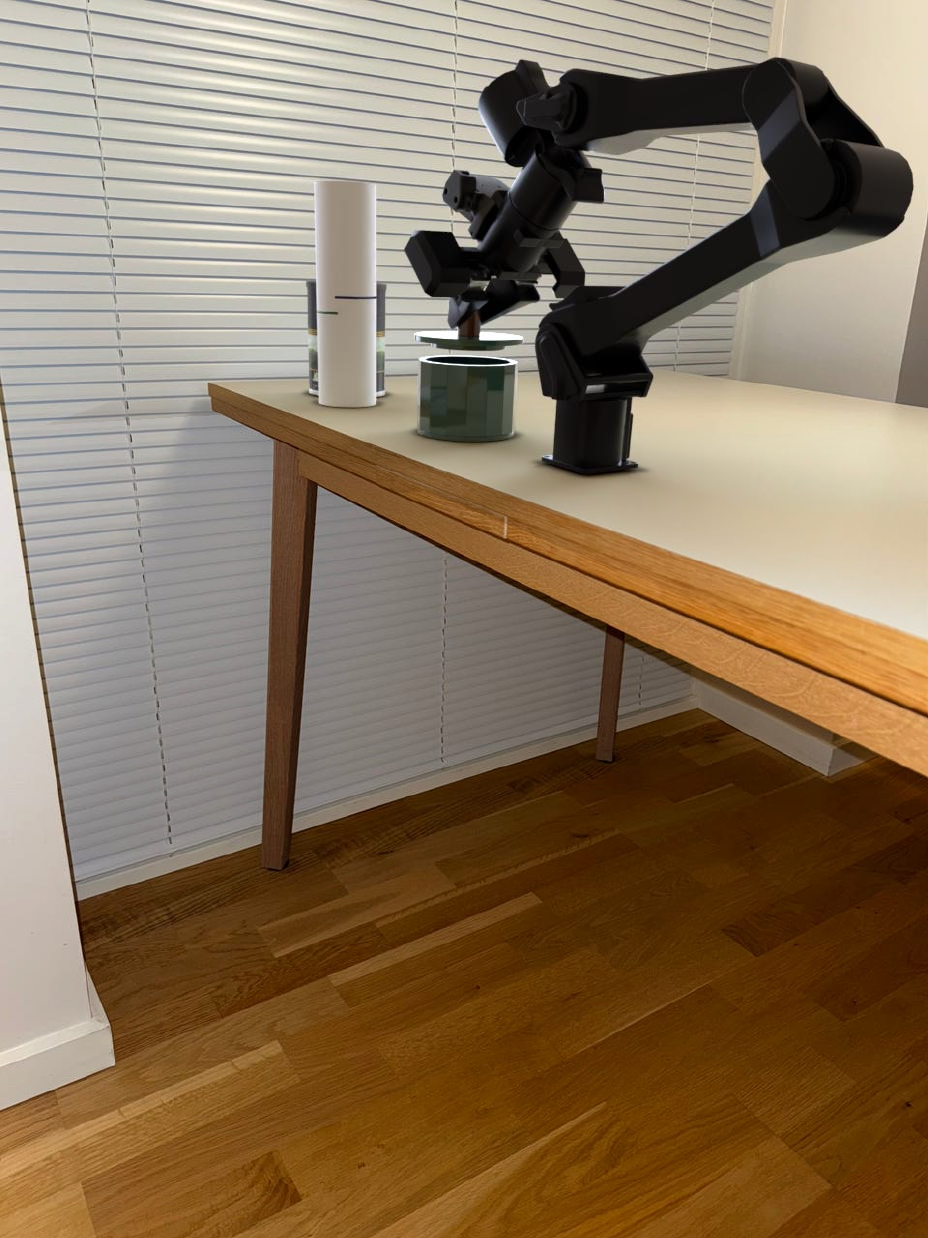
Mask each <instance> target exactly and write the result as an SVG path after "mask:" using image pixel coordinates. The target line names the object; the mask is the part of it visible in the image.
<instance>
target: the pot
mask: <svg viewBox="0 0 928 1238" xmlns="http://www.w3.org/2000/svg"><path fill="white" fill-rule="evenodd" d="M518 375H519V362H518V361H516V360H514V359H508V358H504V357H503V358H502V357H493V356H478V355H433V356H432V355H430V356H422V357H420V358H418V359H417V409H416V410H417V411H416V413H417V414H416V415H417V417H416V427H417V433H418V434H419V435H420V436H422V437H425V438H429V439H435V440H438V441H439V440H440V441H449V442H461V443H462V442H463V443H487V442H488V443H489V442H499V441H505V440H509V439H511V438H513V437H514V436H515V431H516V417H517V413H516V412H517V396H518Z"/></svg>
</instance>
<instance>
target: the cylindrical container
mask: <svg viewBox="0 0 928 1238" xmlns="http://www.w3.org/2000/svg"><path fill="white" fill-rule="evenodd" d="M313 192H314V193H313V195H314V197H313V198H314V241H315V243H314V244H315V246H314V247H315V280H316V294H317V310H318V311H327V312H317V341H318V388H319V396H318V404H319V405H322V406H327V407H335V408H367V407H373V406H376V405H377V397H376V298H365V297H375V296H376V283H377V184H375V183H371V182H362V181H350V180H349V181H347V180H317V181H314V182H313ZM343 296H351V297H343Z"/></svg>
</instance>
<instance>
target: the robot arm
mask: <svg viewBox="0 0 928 1238" xmlns="http://www.w3.org/2000/svg"><path fill="white" fill-rule="evenodd" d="M558 81H559V82H558V84H557V85H554V86H551V87H550V85H549V83H548V82H547V79H546V77H545V74H544V71H543V69H542V67H541V65H540V64H539V62H538V61H533V60H527V59H523V58H522V59H521V58H520V59H519V60H518V61H517V63H516V65H515V67H514V69H512V70H509V71H506V72H504V73H501V74H500V75H499V76H496V77H495V79H494V80H492V81H491V82H490V83H489V84H488V85H486V86H485V87H483V89H482V92H481V93H480V95H479V97H478V102H477V111H478V114H479V116H480V118H481V120H482V122H483V124H484V126H485V128H486V129H487V131H488V132H489V135H490V137H491V138H492V140H493V142H494V144H495V146H496V147H497V150H498V151H499V153H500V155H501V157H502V159H503V160H504V162H505V163H506V164H507V165H508V166H510V167H513V168H519V169H521V170H520V171H519V173H518V174H517V176H516V178H515V179H514V181H513V183H512V185H511V186H508V185H507V184H505V183H504V182H503V181H502V180H501V179H498V178H496V177H492V176H486V175H474V174H470V173H471V172H469V171H468V170H464V169H463V170H462V169H453V171H452V172H451V173H450V174H449V177H447V180H446V181H445V183H444V186H443V190H442V193H441V197H442V201H443V203H445V205H447V206H448V208H450V209H451V210H453V211H454V212H455V213H459V214H460V215H461V216H462V217H464V218H465V219H466V220H467V221H468V222H470V225H469V227H468V229H467V232H468V234H469V236H470V238H471V239H472V240H474V241H475V240H476V242H477V243H478V244H477V245H476V246H460V244H459V242H458V241H457V238H456V236H455V235H454V233H453V231H442V230H440V231H439V230H424V229H418V230H417V229H416V230H415V229H414V230H413V232H412V233H411V235H410V237H409V239H408V240H407V242H406V245H405V247H404V248H403V251H404V254H405V255H406V257H407V260H408V262H409V263H410V266H411V268H412V270H413V272H414V274H415V276H416V279H417V281H418V282H419V284H420V287H421V288H422V290H423V292H424V294H426V295H428V296H429V297H431V298H444V299H445V298H446V299H447V298H448V299H449V305H448V312H447V325H448V326H449V328H450V329H451V330H454V329H457V327H458V326H459V325H461V324H462V323H463V322H464V321H466V320H467V319H468V318H469V317H470V316H471V315H473V314H474V313H475V312H476V311H477V310H478V309H480V308H481V307H482V312H481V327H482V326H484V325H486V324H488V323H490V322H493V321H494V320H496V319H499V318H501V317H503V316H506V315H507V314H510V313H512V312H514V311H517V310H519V309H522V308H524V307H526V306H528V305H532V304H537V303H538V302H540V300H541V295H540V293H539V291H538V288H537V286H538V284H539V280H541V279H542V277H543V276H544V275H545V276H553V278H554V280H555V282H554V284H553V285H552V287H551V291H552V293H553V296H554V297H555V299H562V300H559V301H557V302H550V303H548V307H549V309H550V310H551V311H550V312H547V313H546V314H545V315H544V316H543V317H542V318H541V320H540V322H539V323H538V327H537V328H538V331H537V333H536V334H535V340H534V352H535V357H536V363H537V364H536V365H537V371H538V375H539V381H540V387H541V394H542V396H543V397H547V398H550V399H551V400H554V401H555V415H554V428H553V429H554V430H553V445H552V454H547V455H541V462H542V463H546V464H550V465H553V466H555V467H560V468H562V469H566V470H569V471H572V472H576V473H579V474H583V475H584V474H585V475H591V474H600V473H608V472H616V471H625V470H634V469H639V462H637V461H633V460H630V455H631V443H632V436H633V435H632V434H633V425H634V414H633V412H632V409H633V408H632V407H633V400H634V399H633V398H640V399H641V398H646V397H647V396H648V393H649V391H650V389H651V386H652V383H653V381H654V374H653V372H652V370H651V368H650V366H649V365H648V363H647V361H646V360H645V357H644V356H643V354H642V353H644V352H643V351H644V349H646V346H647V344H648V342H649V339H651V338H652V337H653V336H655V335H656V334H658V333H660V332H662V331H664V330H665V329H668V328H669V327H672V326H673V325H676V324H677V323H679V322H681V321H682V320H684V319H686V318H688V317H690V316H693V315H694V314H696V313H698V312H700V311H701V310H703V309H705V308H707V307H709V306H710V305H713V304H715V303H716V302H718V301H720V300H722V299H723V298H726V297H728V296H729V295H731V294H734V293H735V292H737V291H738V290H740V289H742V288H745V287H746V286H748V285H750V284H752V283H753V282H755V281H757V280H759V279H761V278H763V277H765V276H767V275H768V274H770V273H772V272H774V271H776V270H778V269H780V268H782V267H783V266H785V265H787V264H791V263H794V262H798V261H804V260H808V259H812V258H819V257H821V256H826V255H831V254H832V255H833V254H836V253H841V252H844V251H847V250H850V249H853V248H857V247H860V246H863V245H867V244H870V243H873V242H876V241H879V240H881V239H884V238H886V237H888V236H890V235H891V234H892V233H893V232H894V231H896V230H897V229H898V228H899V227H900V226H901V225H902V224H903V222H904V221H905V217H906V216H905V215H906V213H907V211H908V209H909V207H910V205H911V202H912V197H913V194H914V193H913V192H914V189H915V188H914V187H915V186H914V174H913V171H912V169H911V165H910V164H909V161H908V160H907V159H906V158H905V157H904V156H903V155H902V154H901V152H898V151H896V150H893V149H890V148H888V147H885V145H884V144H883V141H881V139H880V138H879V136H878V134H877V133H876V132H875V130H874V129H872V127H870V126H869V125H868V124H867V123H866V122H865V120H863V119H862V117H861V116H859V115H858V114H857V112H856V111H855V110H854V109H852V107H850V106H849V105H848V103H846V102H845V100H843V99H842V97H841V96H840V95H839V94H838V92H837V90H836V89H835V87H834V86H833V84H832V83H831V81H830V80H829V78H828V77H827V76H826V75H825V73H824V71H823V70H822V69H821V68H819V67H818V66H817V65H814V64H810V63H806V62H801V61H799V60H798V61H797V60H794V59H789V58H785V57H779V56H774V57H771V58H769V59H767V60H763V61H762V62H759V63H752V64H745V65H737V66H729V67H721V68H714V69H706V70H699V71H698V70H697V71H690V72H682V73H674V74H667V75H659V76H650V77H643V78H640V77H633V76H627V75H621V74H615V73H609V72H604V71H599V70H598V71H597V70H591V69H584V68H576V67H574V68H570V69H568V70H566V71H564V73H563V74H561V75H560V76H559V78H558ZM743 131H745V132H746V131H756V134H757V143H758V149H759V155H760V156H759V157H760V163H761V166H762V167H763V170H764V171H765V172H766V174H767V176H768V177H769V178H768V179H767V180H766V181H765V183H764V185H763V187H762V188H761V190H760V192H759V194H758V196H757V197H756V199H755V200H754V202H753V204H752V205H751V207H750V208H749V209H748V210H747V211H746V212H745V213H743V214H742V215H740V216H738V217H737V218H735V219H734V220H732V221H730V222H729V223H727V224H725V225H724V226H721V228H719V229H718V230H716V231H714V232H713V233H711V234H710V235H708V236H706V237H704V238H703V239H701V240H700V241H698V242H697V243H695V244H694V245H692V246H690V247H688V248H687V249H685V250H683V251H682V252H680V253H679V254H677V255H675V256H674V257H672V258H671V259H669V260H667V261H665V262H664V263H662V264H661V265H659V266H657V267H656V268H654V269H653V270H651V271H649V272H648V273H646V274H644V275H643V276H641V277H640V278H638V279H636V280H635V281H633V282H632V283H630V284H628V285H587V284H586V273H587V272H586V270H585V268H584V267H583V264H582V263H581V261H580V259H579V257H578V256H577V254H576V252H575V250H574V249H573V247H572V245H571V243H570V241H569V239H568V238H566V237H565V238H564V237H563V235H562V233H561V231H560V230H561V229H562V227H563V225H564V224H565V222H566V221H567V220H568V219H569V217H570V215H571V214H572V212H573V211H574V210H575V208H576V206H577V205H578V203H582V204H583V203H584V204H593V205H594V204H595V205H602V204H604V202H605V199H606V197H605V196H606V195H605V194H606V191H605V186H604V184H603V183H604V181H603V169H602V168H600V167H593V165H591V163H590V161H589V159H588V157H587V156H586V153H585V152H589V153H595V154H596V153H597V154H603V155H610V156H620V155H624V154H625V155H626V154H627V153H631V152H634V151H637V150H641V149H643V148H647V147H648V146H649V145H650V144H652V143H653V142H654V141H656V140H658V139H660V138H664V137H668V136H681V135H698V134H699V135H700V134H713V133H730V132H743Z"/></svg>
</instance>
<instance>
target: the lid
mask: <svg viewBox="0 0 928 1238" xmlns="http://www.w3.org/2000/svg"><path fill="white" fill-rule="evenodd" d="M481 312H482V307H481V308H480V309H478V310H477V311H476V312H475V313H474V314H473V315H471V316H470V317H469V318H468V319H467V320H466V321H464V322H463V323H462V324H461V325H459V326H458V327H456V329H457V330H433V331H432V330H431V331H430V330H429V331H419V332H416V333H414V335H413V339H414V341H415V342H419V343H424V344H431V347H432V348H435V349H441V350H448V351H449V350H450V351H463V352H464V351H465V352H496V351H505V350H506V347H514V346H521V345H523V344H524V337H523V336H521V335H516V334H510V333H500V332H484V331H482V326H481Z"/></svg>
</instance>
